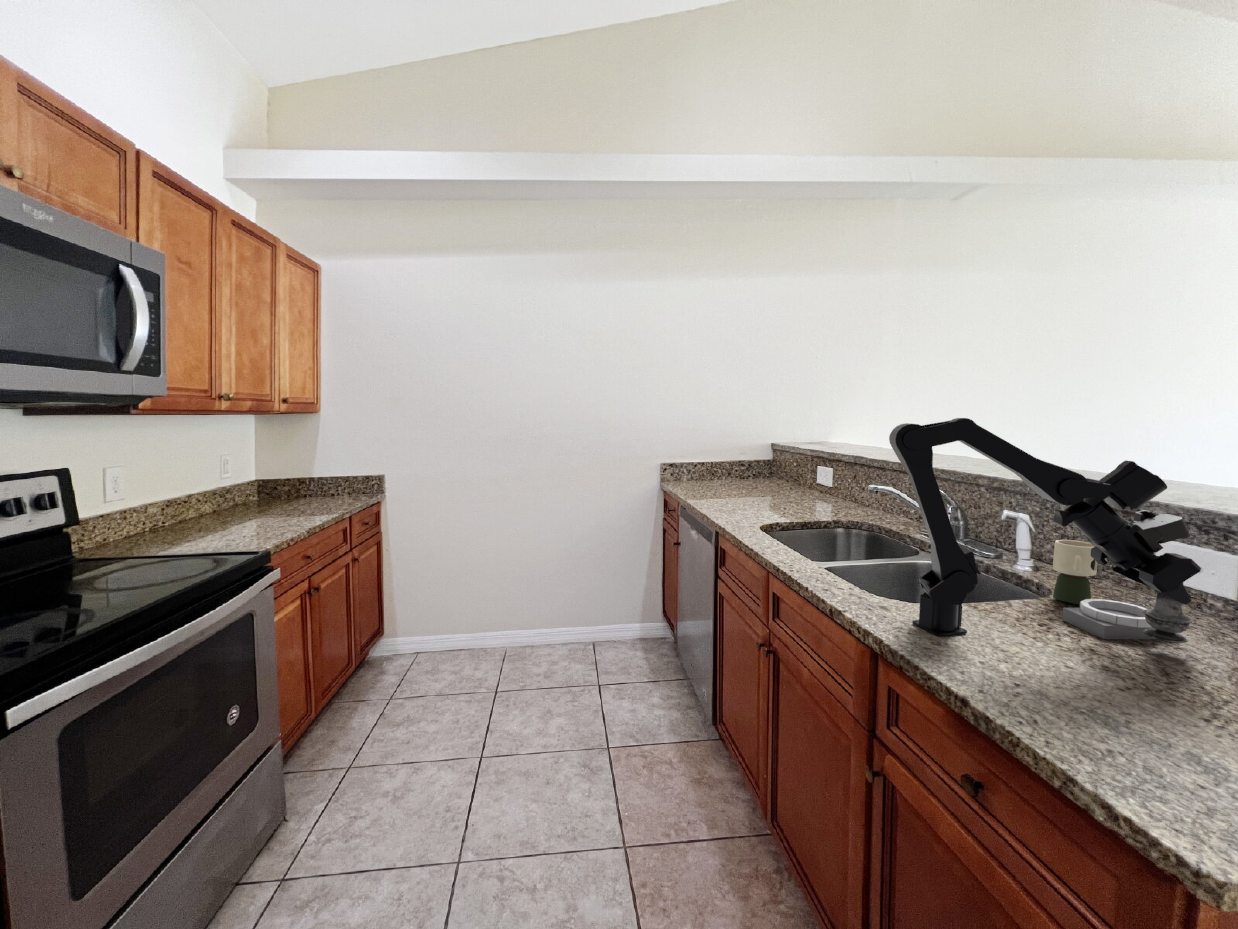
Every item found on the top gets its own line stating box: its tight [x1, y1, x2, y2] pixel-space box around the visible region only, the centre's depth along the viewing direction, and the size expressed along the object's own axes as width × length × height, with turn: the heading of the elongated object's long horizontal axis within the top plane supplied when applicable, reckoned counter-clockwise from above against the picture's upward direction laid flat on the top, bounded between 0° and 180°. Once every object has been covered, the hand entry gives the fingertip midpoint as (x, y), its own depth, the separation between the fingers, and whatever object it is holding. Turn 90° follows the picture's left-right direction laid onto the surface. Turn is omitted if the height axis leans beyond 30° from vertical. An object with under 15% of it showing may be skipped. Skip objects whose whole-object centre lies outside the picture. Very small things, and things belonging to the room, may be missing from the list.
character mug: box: [1052, 539, 1099, 606], centre depth 114 cm, size 11×7×13 cm, turn 145°
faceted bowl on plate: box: [1061, 598, 1157, 640], centre depth 100 cm, size 13×10×4 cm
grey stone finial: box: [1143, 590, 1194, 644], centre depth 89 cm, size 6×6×12 cm
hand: (1179, 598), depth 89 cm, fingers closed on grey stone finial, 3 cm apart
